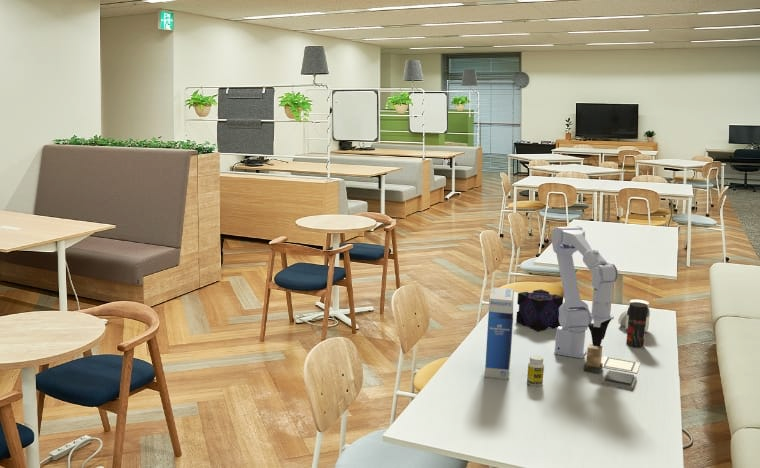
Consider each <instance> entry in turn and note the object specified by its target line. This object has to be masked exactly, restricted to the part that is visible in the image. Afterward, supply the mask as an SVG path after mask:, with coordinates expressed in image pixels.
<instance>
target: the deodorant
mask: <svg viewBox="0 0 760 468" xmlns="http://www.w3.org/2000/svg"><path fill="white" fill-rule="evenodd" d="M629 306H630V308H629V307H628V308H629V319H628V329H627V330H626V331H627V332H626V340H625V341H626V342H625V344H626V346H628V347H631V348H635V349H636V348H637V349H638V348H643V347H645V337H646V336H645V335H646V334H645V327H646V317H647V307H648V305H647V304H644V303H640V302H632V303H630V302H629ZM648 308H649V307H648Z"/></svg>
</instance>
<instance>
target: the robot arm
mask: <svg viewBox="0 0 760 468" xmlns="http://www.w3.org/2000/svg"><path fill="white" fill-rule="evenodd" d="M550 238H551V239H550V240H551V245H552V250H553V252H554V253H555V254H556V259H557V263H558V269H559V274H560V281H561V287H562V292H563V300H564V301H563V304H562V305H561V306H560V307H559V323H560V325H561V326H558V328H556V333H555V341H554V342H555V344H554V355H560V356H565V357H571V358H577V359H583V358H584V356H585V355H586V354H587V349H585V341H586V340H585V339H586V331H588V329H589V332H590V334H591V341H592V343H591V344H593V346H598V347H600V346H602V345H601V344H602V341H603V340H604V338H605V336H606V334H607V333H606V332H607V329H608V326H609V325H610V323H611V322H612V320H614V318H615V316H614V315H611V310H612V299H613V289H614V288H613V287H614V283H615V282H617V280H618V277H619V272H618V269H617V266H616V265H615V264H614V263H610V262H607V261H606V259H605V258H604V257H603V255H601V253H600V252H599V250H596V249H593V248H592V247H591V246H590V244H589V243H588V241H587V239H586V231H585V230H584V229H583V227H582V226H579V225H577V226H555V227H553V230H552V232H551V236H550ZM576 252H579V253H580V255H582V261H583V264H584V265H585V266H586V267H587V268H588V270H589V271H590V277H591V280H592V281H591V282H592V283H591V285H592V287H593V293H592V303H591V304H592V306H591V311H590V308H589V305H588V303H586V302H585V301H584V300H582V299H581V296H580V291H579V285H578V279H577V275H576V274H577V273H576V269H575V264H574V258H573V255H574V253H576Z"/></svg>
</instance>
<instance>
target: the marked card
mask: <svg viewBox="0 0 760 468" xmlns="http://www.w3.org/2000/svg"><path fill="white" fill-rule="evenodd" d="M601 363H603V367H602V368H605V369H610V370H614V371H621V372H625V373H627V372H628V373H631V374H637V373H638V372H639V369H640V366H641V362H639V361H633V360H626V359H622V358H616V357H610V356H605V355H604V356H602V357H601Z"/></svg>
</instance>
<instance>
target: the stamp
mask: <svg viewBox="0 0 760 468" xmlns="http://www.w3.org/2000/svg"><path fill="white" fill-rule="evenodd" d="M602 355H603V345H600V347H598V346H593V343H589V345H588V346H587V349H586V361H585V363H584V365H583V372H585V373H591V374H597V375H600V374H601V373H602V371H603V368H604V367H603V363H601V360H602V358H603V356H602Z"/></svg>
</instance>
